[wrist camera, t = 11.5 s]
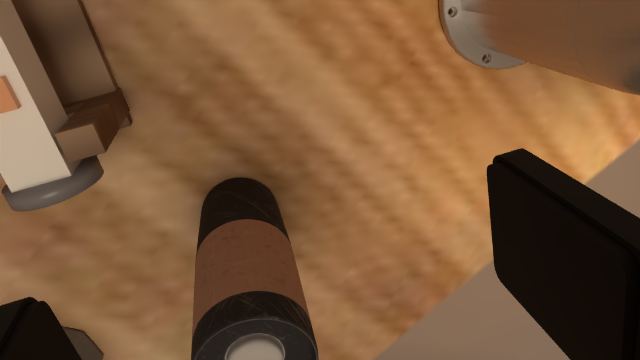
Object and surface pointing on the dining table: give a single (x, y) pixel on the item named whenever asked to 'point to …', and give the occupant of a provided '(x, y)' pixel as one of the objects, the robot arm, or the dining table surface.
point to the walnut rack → (75, 75)
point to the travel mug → (247, 280)
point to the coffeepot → (83, 345)
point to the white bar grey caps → (33, 127)
